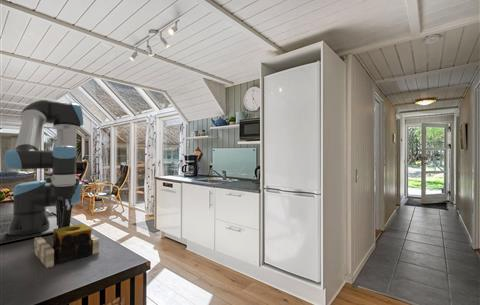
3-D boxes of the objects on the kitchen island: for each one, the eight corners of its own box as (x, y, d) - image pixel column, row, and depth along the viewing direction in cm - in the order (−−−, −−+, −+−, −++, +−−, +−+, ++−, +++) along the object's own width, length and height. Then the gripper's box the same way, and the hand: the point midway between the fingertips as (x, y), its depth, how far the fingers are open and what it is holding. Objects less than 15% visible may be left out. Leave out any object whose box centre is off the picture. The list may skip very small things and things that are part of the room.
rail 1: (34, 252, 91) (34, 238, 91) (40, 250, 93) (41, 236, 93) (46, 268, 80) (46, 251, 80) (53, 265, 81) (54, 249, 81)
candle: (58, 264, 82) (59, 235, 82) (51, 255, 89) (51, 228, 89) (91, 255, 90) (92, 228, 90) (82, 247, 97) (83, 223, 97)
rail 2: (76, 242, 102) (77, 229, 102) (82, 241, 104) (82, 228, 104) (92, 254, 91) (93, 240, 91) (98, 253, 92) (99, 238, 92)
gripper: (47, 184, 96) (46, 243, 96) (57, 187, 88) (55, 252, 87) (70, 182, 102) (68, 238, 102) (80, 185, 93) (79, 246, 93)
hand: (62, 244), depth 95 cm, fingers closed
